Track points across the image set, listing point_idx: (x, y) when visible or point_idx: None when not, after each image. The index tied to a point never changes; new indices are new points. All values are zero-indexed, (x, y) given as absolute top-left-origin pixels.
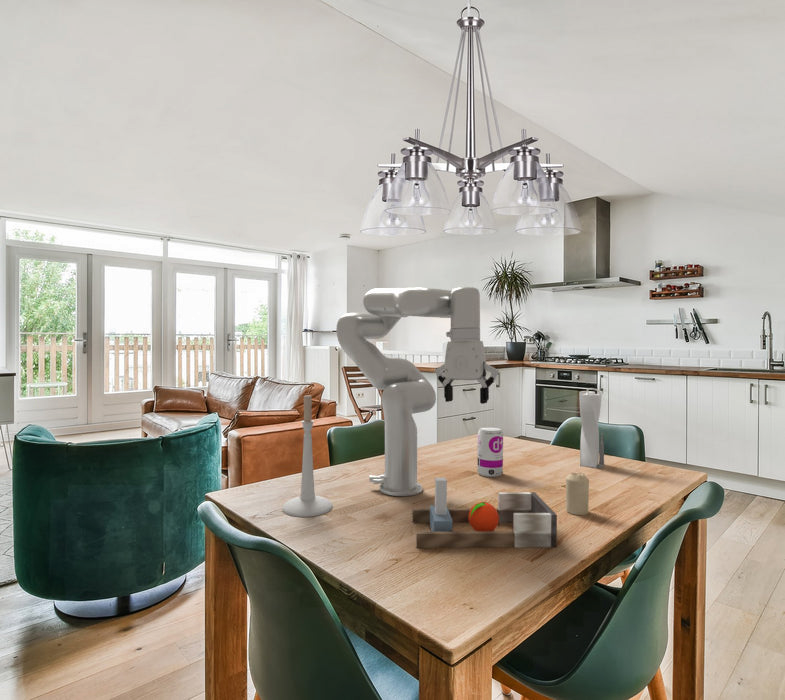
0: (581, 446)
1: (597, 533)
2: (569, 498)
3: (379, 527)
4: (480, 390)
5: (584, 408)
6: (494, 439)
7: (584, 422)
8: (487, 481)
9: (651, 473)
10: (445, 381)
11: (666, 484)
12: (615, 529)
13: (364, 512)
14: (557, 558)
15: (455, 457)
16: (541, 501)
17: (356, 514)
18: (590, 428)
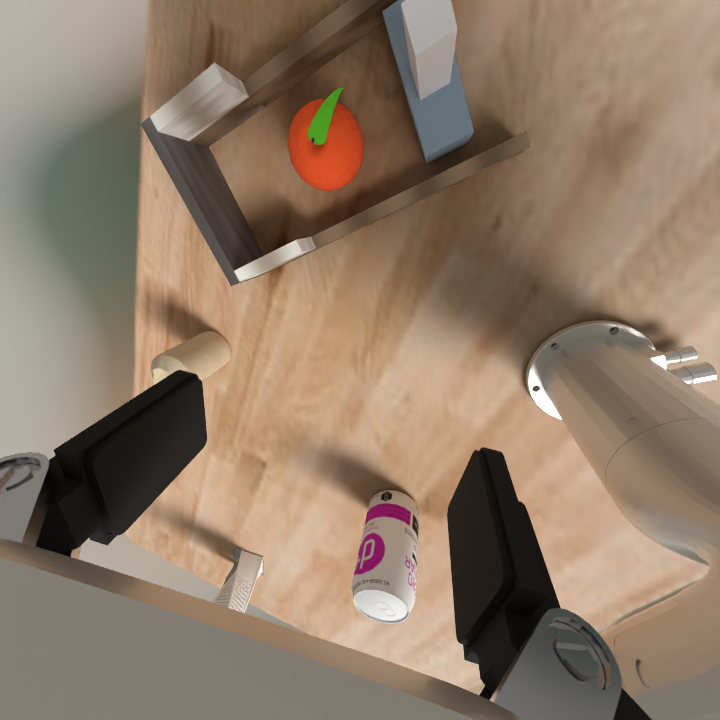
0: (248, 595)
1: (161, 251)
2: (205, 345)
3: (618, 45)
4: (107, 438)
5: None
6: (369, 564)
7: None
8: (390, 465)
9: (174, 534)
10: (574, 701)
11: None
12: (145, 282)
13: (687, 156)
14: (177, 76)
15: None
16: (198, 219)
17: (716, 125)
18: None
